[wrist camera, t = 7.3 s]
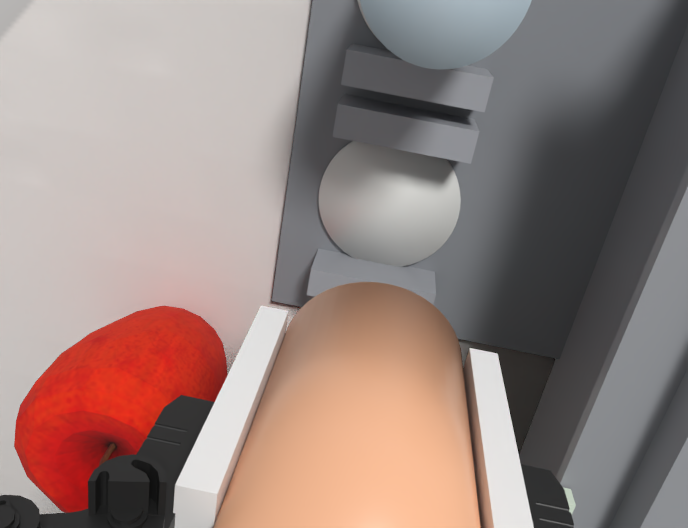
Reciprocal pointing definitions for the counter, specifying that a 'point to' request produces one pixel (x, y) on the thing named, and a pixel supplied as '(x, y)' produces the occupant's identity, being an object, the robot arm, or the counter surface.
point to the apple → (112, 396)
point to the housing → (517, 210)
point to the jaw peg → (360, 421)
